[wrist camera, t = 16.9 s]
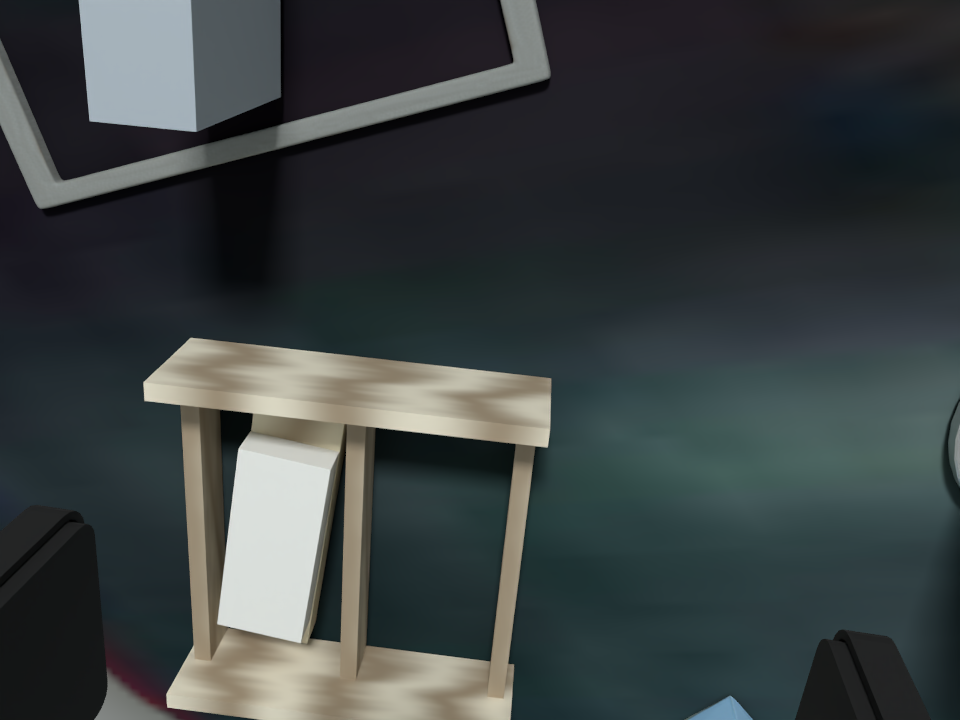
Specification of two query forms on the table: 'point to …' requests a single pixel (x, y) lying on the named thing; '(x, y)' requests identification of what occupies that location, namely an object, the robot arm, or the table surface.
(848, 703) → the robot arm
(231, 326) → the table surface
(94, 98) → the grey sheet
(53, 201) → the grey picture frame
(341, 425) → the block
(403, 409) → the offcut rack
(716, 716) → the gum box
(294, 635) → the offcut top
